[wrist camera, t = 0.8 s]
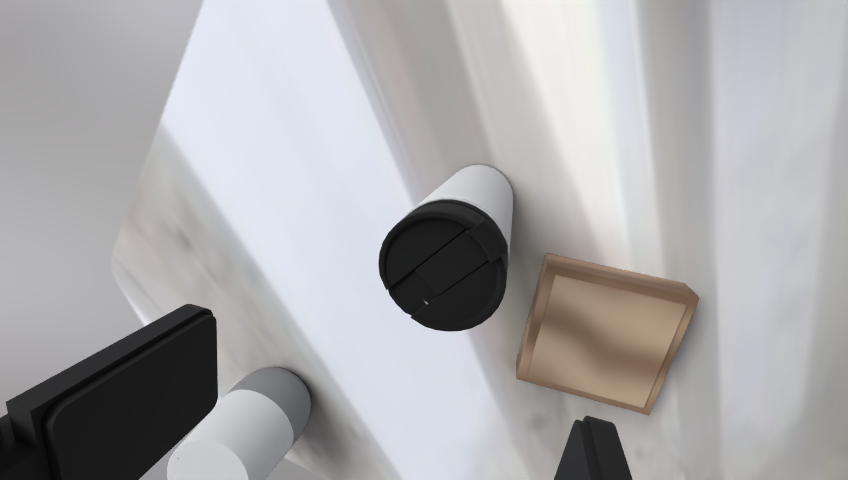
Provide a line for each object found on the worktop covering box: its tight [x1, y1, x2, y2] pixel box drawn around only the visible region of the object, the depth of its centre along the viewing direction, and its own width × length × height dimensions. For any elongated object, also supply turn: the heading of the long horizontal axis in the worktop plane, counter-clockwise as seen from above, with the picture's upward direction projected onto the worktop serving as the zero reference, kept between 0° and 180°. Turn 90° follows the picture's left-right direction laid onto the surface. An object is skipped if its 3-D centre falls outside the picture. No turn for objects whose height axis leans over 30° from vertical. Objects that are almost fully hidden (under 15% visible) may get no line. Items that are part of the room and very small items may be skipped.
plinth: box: [516, 253, 699, 415], centre depth 36 cm, size 12×12×3 cm
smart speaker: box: [167, 367, 311, 480], centre depth 42 cm, size 10×9×14 cm
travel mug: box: [379, 164, 513, 331], centre depth 27 cm, size 6×7×20 cm
